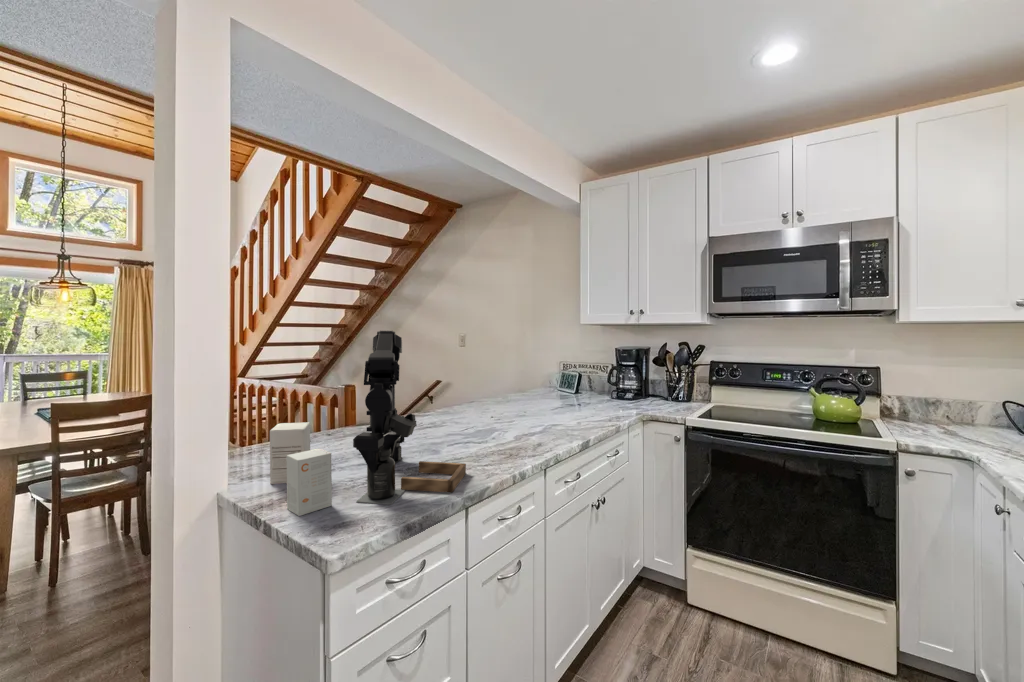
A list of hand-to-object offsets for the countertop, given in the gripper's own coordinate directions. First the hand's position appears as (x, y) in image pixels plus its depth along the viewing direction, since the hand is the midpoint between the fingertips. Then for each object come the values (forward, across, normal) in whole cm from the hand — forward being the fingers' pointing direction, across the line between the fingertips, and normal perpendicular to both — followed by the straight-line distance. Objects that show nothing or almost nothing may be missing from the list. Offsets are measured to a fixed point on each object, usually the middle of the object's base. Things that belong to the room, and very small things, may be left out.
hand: (381, 466), depth 112 cm
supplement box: (+8, +9, +31) cm, 33 cm away
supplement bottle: (+8, 0, 0) cm, 8 cm away
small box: (+8, -9, +14) cm, 18 cm away
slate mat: (+8, 0, 0) cm, 8 cm away
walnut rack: (+8, +13, -10) cm, 18 cm away
